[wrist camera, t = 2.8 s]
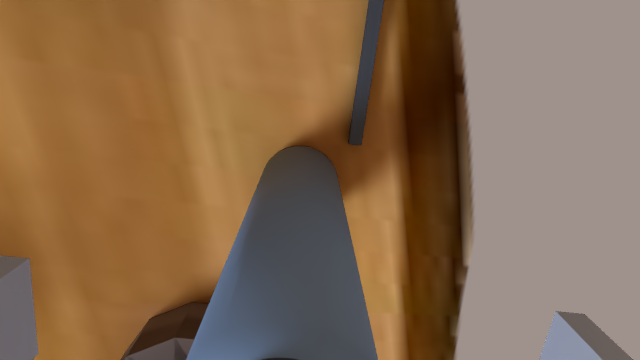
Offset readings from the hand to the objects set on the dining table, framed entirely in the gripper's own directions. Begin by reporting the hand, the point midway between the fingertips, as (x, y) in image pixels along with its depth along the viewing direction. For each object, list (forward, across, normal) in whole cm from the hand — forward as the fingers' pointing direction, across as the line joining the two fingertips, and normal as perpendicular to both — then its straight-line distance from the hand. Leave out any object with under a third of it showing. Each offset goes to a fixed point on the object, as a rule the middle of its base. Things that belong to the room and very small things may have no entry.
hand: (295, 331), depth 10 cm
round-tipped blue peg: (+11, 0, 0) cm, 11 cm away
